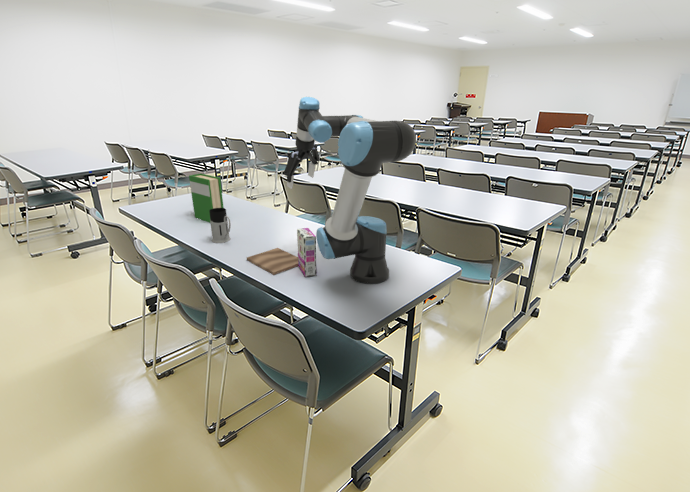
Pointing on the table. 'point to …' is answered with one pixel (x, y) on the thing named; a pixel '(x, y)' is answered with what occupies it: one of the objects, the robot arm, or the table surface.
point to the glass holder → (219, 225)
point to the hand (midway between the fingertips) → (300, 181)
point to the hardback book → (205, 195)
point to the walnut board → (274, 261)
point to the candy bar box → (306, 251)
